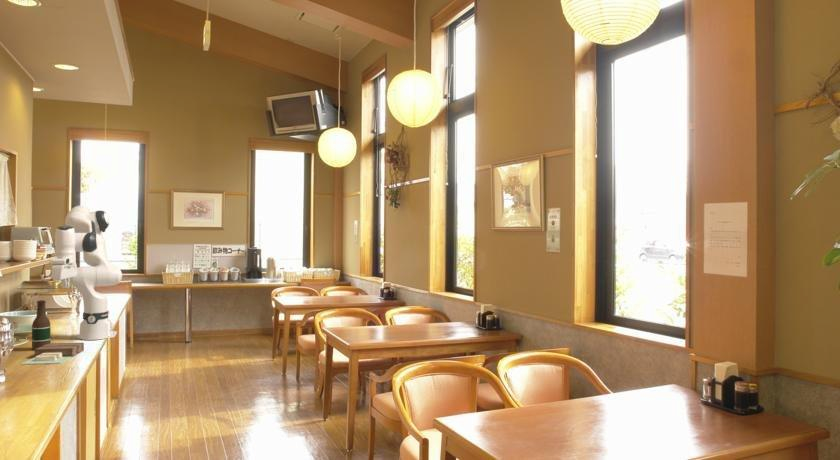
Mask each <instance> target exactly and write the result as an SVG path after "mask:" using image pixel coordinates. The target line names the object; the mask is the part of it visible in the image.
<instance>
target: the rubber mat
mask: <svg viewBox="0 0 840 460" xmlns="http://www.w3.org/2000/svg"><path fill="white" fill-rule="evenodd" d="M71 358H72V357H61V358H59V359H57V360H55V361H35V357H32V358H30V359H28V360H26V361H23V362H22V363H21V366H22V365H53V364H54V365H55V364H56V365H57V364H58V365H59V364H62V363H64V362H66V361H68V360H69V359H71Z"/></svg>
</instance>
